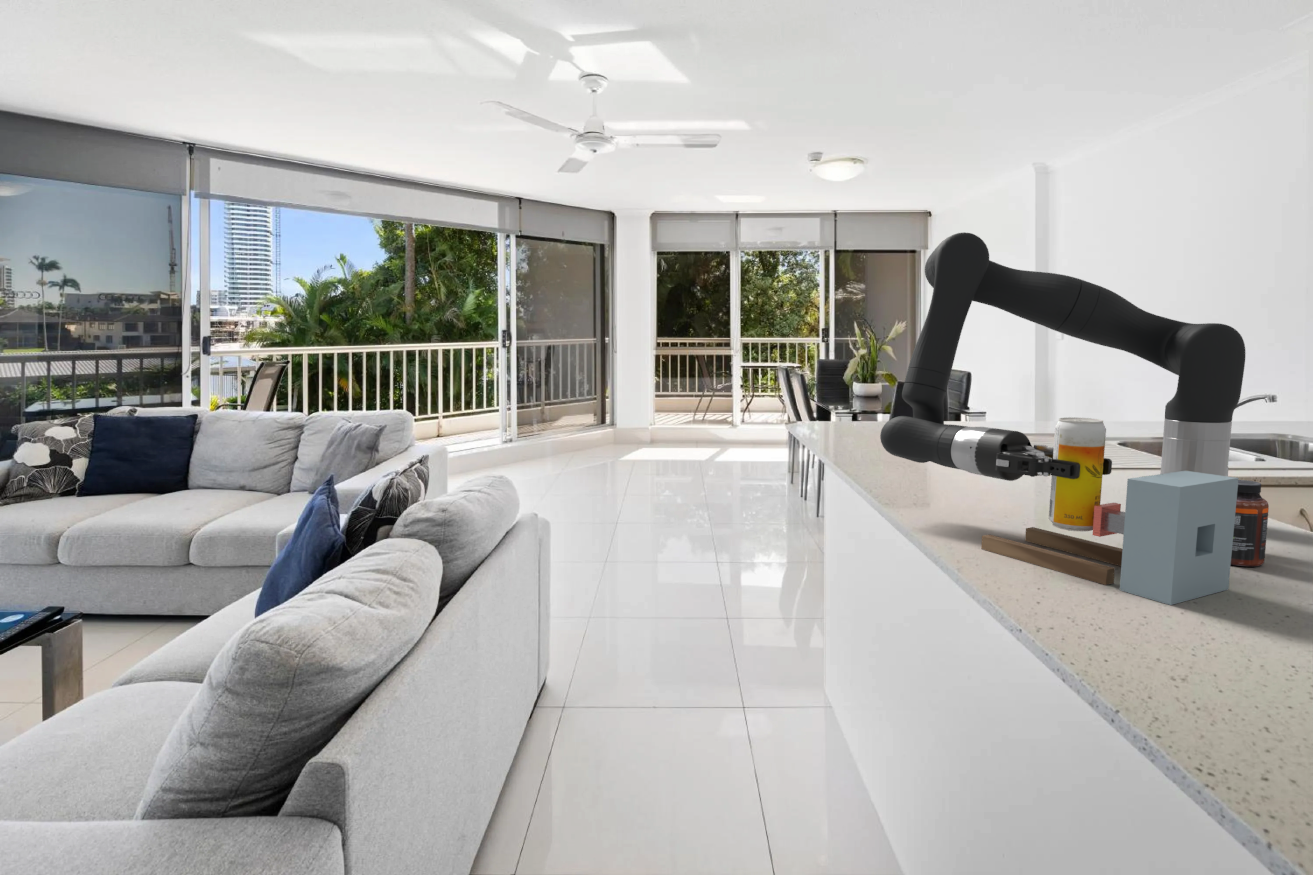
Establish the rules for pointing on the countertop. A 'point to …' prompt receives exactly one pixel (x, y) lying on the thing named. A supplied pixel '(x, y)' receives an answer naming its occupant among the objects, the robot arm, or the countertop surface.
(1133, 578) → the end cabinet
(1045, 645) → the countertop surface
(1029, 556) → the rail track
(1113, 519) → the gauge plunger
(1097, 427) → the beer can
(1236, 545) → the supplement bottle
